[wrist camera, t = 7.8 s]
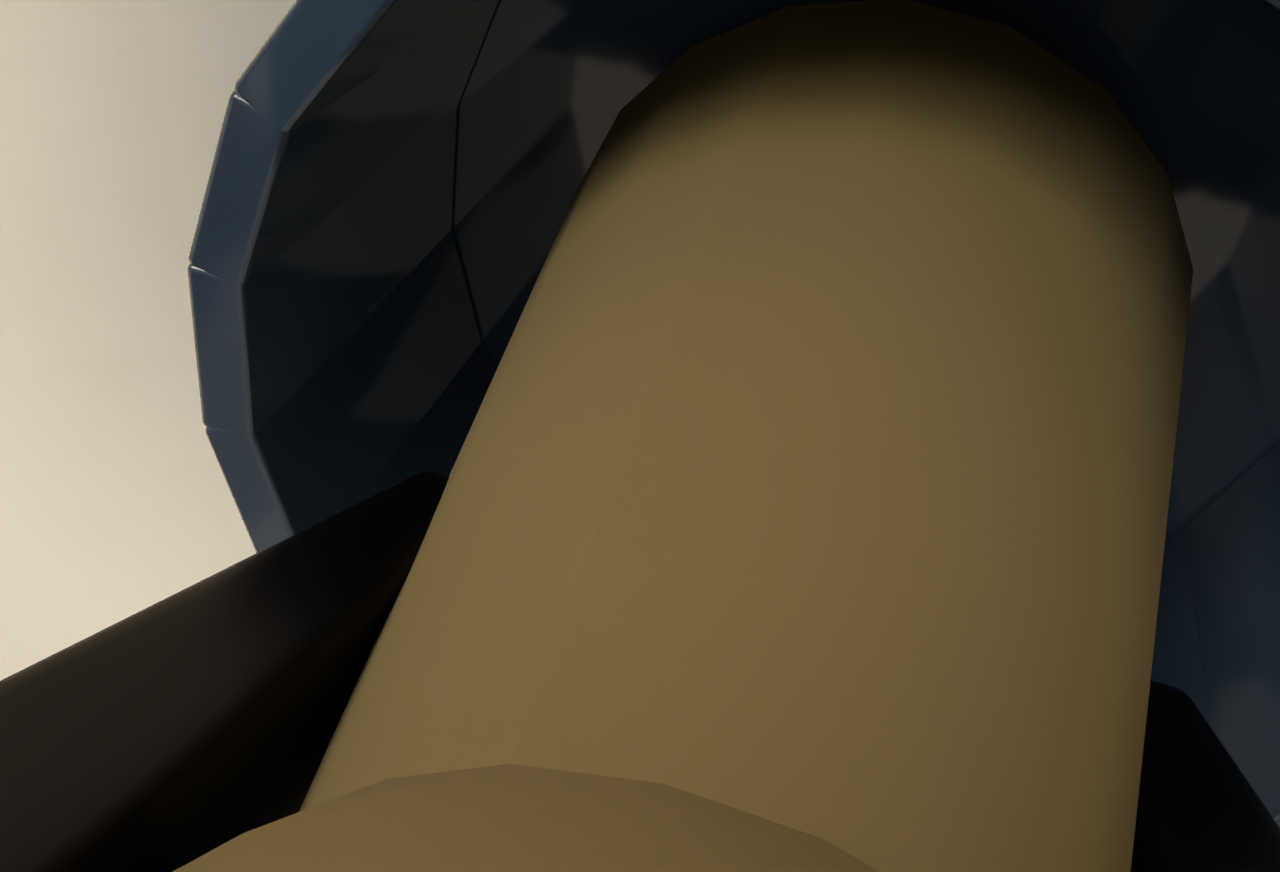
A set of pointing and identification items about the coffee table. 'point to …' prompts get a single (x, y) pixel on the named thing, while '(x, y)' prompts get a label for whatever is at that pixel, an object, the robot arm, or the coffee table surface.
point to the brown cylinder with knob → (798, 490)
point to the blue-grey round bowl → (539, 200)
